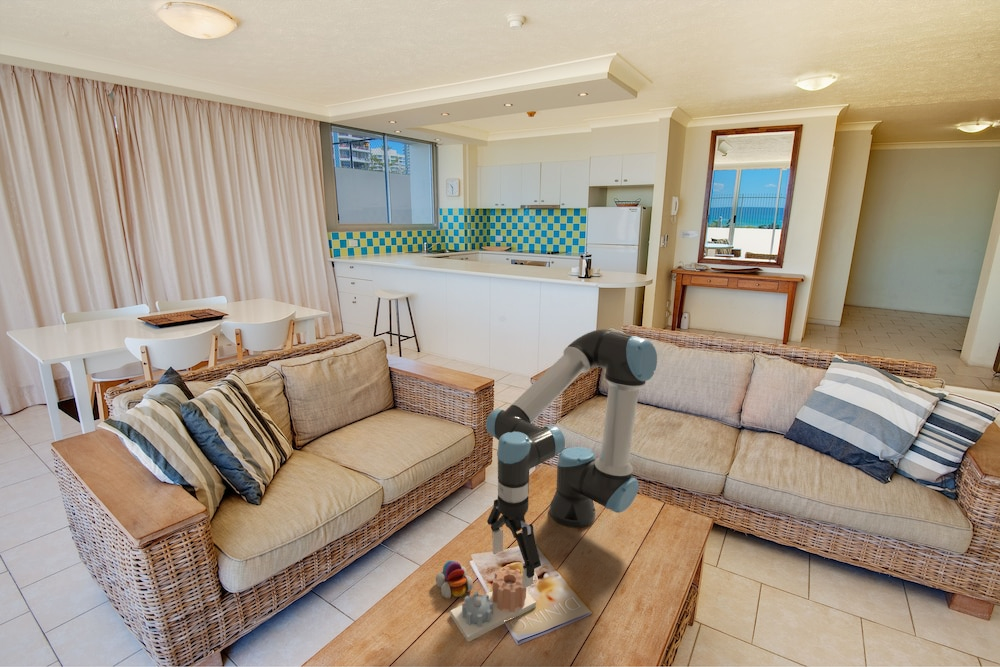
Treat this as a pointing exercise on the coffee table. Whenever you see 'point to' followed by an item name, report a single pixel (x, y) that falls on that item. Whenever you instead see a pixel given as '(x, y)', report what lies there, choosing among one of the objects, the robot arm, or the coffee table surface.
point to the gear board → (494, 618)
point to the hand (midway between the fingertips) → (512, 567)
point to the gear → (508, 589)
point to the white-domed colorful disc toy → (453, 580)
